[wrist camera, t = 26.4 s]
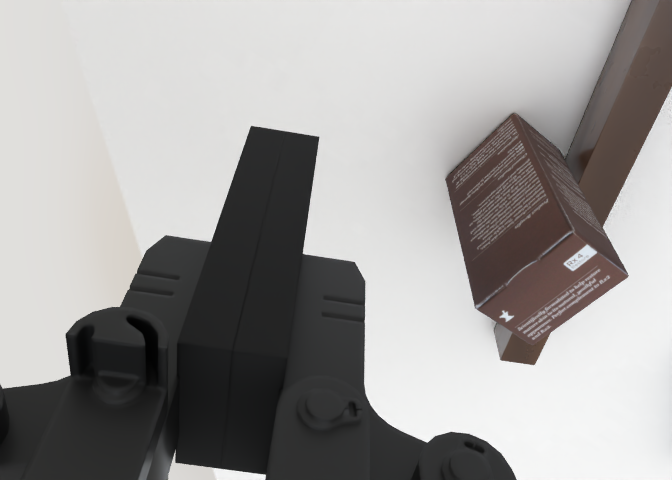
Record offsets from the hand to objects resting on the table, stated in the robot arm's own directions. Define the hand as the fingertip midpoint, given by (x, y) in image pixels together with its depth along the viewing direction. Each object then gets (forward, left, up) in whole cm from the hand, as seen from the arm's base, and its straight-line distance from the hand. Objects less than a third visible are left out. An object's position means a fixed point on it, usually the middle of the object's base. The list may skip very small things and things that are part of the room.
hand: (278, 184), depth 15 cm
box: (+12, -10, -23) cm, 28 cm away
